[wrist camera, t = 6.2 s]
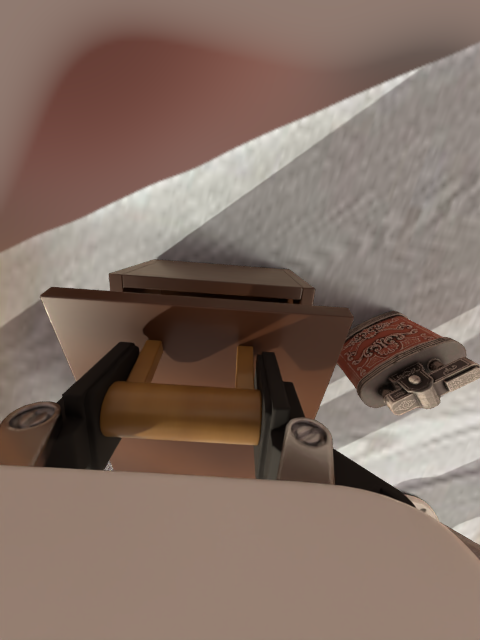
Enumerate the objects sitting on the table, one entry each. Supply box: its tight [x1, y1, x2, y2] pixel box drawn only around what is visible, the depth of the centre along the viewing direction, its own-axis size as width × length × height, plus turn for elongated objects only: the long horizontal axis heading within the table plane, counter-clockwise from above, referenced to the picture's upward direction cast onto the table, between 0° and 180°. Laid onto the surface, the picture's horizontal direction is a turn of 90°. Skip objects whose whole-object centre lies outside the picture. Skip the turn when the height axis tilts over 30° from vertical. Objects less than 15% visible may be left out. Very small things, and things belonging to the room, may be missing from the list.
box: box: [109, 259, 315, 305], centre depth 23 cm, size 17×13×9 cm
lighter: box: [336, 311, 480, 415], centre depth 22 cm, size 8×3×10 cm, turn 123°
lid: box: [40, 287, 354, 479], centre depth 14 cm, size 17×13×5 cm
